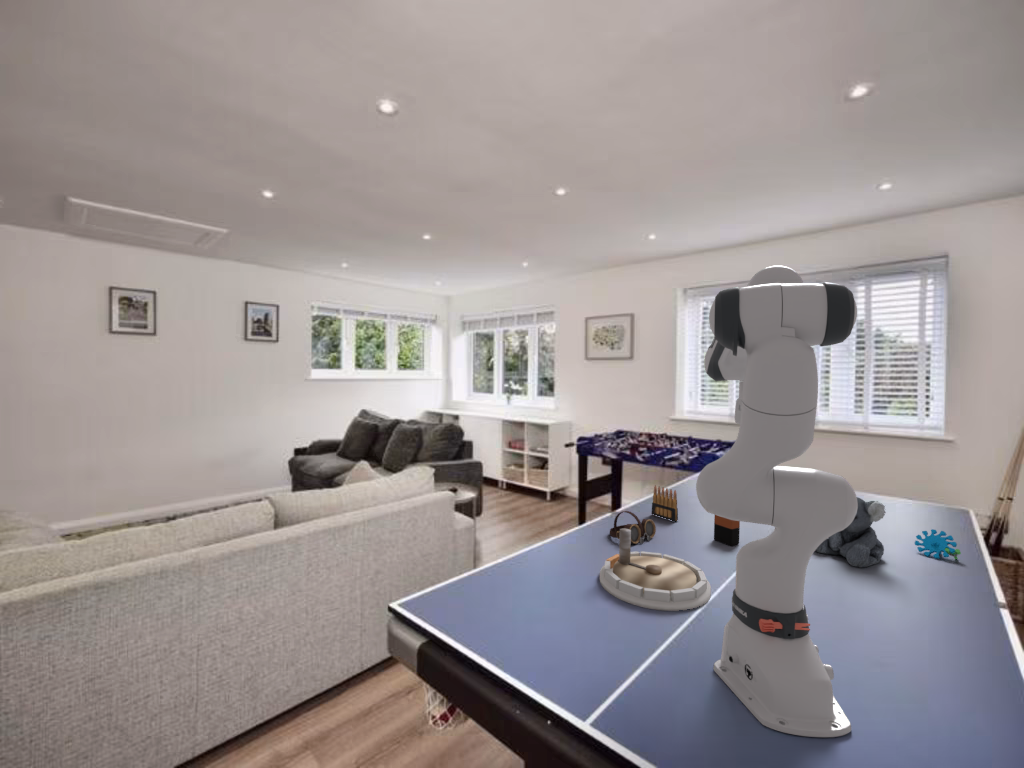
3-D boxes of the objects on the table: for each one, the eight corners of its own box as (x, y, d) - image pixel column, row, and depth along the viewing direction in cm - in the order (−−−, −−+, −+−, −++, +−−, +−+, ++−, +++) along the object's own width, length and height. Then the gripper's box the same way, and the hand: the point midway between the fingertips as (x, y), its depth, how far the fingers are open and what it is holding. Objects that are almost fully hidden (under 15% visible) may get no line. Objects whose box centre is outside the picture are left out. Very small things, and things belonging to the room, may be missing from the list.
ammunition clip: (651, 515, 184) (651, 485, 184) (654, 514, 186) (654, 484, 185) (675, 522, 176) (675, 490, 176) (678, 521, 177) (678, 490, 177)
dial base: (729, 613, 109) (729, 597, 109) (607, 608, 111) (607, 592, 111) (690, 564, 137) (690, 551, 137) (593, 560, 139) (594, 548, 139)
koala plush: (804, 549, 151) (806, 489, 150) (843, 543, 157) (845, 485, 157) (861, 571, 135) (864, 503, 134) (901, 563, 141) (904, 498, 141)
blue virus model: (906, 545, 151) (925, 523, 152) (912, 556, 153) (930, 533, 154) (948, 563, 141) (967, 539, 142) (953, 574, 143) (972, 550, 144)
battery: (731, 546, 152) (732, 516, 152) (713, 540, 158) (713, 510, 158) (739, 544, 154) (740, 514, 154) (721, 538, 160) (722, 508, 160)
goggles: (633, 547, 149) (627, 515, 151) (601, 545, 159) (597, 515, 161) (660, 537, 159) (655, 507, 161) (629, 535, 169) (624, 507, 170)
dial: (708, 576, 125) (709, 537, 124) (676, 605, 109) (677, 560, 109) (635, 555, 139) (636, 520, 138) (598, 577, 123) (599, 538, 123)
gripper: (729, 391, 136) (727, 438, 136) (763, 394, 115) (761, 450, 116) (751, 391, 135) (750, 439, 136) (789, 394, 115) (787, 451, 115)
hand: (755, 444), depth 125 cm, fingers closed
